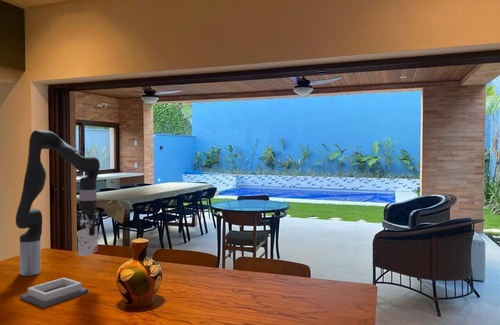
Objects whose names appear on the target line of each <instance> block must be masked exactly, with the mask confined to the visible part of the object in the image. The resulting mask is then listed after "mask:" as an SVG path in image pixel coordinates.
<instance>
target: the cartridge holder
mask: <svg viewBox="0 0 500 325" xmlns="http://www.w3.org/2000/svg"><path fill="white" fill-rule="evenodd" d="M85 294H89V289H88V288H86V287H83V285H82V282H80V281H76V280H73V279H70V278H67V277H62V278H58V279H54V280H51V281H48V282H44V283H41V284H40V283H39V284H37V285H34V286H30V287H27V293H23V294H20V299H21V300H22V301H25V302H26V303H27V302H28V303H30V304H33V305H35V306H37V307H40V308H43V309H44V308H47V307H50V306H55V305H57V304H59V303H62V302H65V301H68V300H71V299H75V298H77V297H80V296H82V295H85Z"/></svg>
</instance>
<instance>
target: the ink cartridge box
mask: <svg viewBox="0 0 500 325" xmlns="http://www.w3.org/2000/svg"><path fill="white" fill-rule="evenodd" d="M91 224H92V223H91ZM95 224H96V222H95ZM98 233H99V232H98V226H96V227H95V235H92V236H90V226H89V223H86V228H85V229H82V230H81V229H80V230H77V255H78V256H80V257H81V256H82V257H88V256H90V255H93V254H95V253H97V252H99V250H98V245H99V244H98V239H99V238H98V236H99V235H98Z"/></svg>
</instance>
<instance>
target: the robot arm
mask: <svg viewBox="0 0 500 325" xmlns="http://www.w3.org/2000/svg"><path fill="white" fill-rule="evenodd" d="M28 141H29V142H28V154H27V155H28V158H27V163H26V169H25V170H26V171H25V174H24V175H25V176H24V180H23V186H22V192H21V196H20V201H19V204H18V207H17V211H16V214H15V215H16V216H15V225H16V227H17V228H19V229H21V230H23V229H24V230H25V229H27V230H26V232H24V233H23V234H21V235H20V236H19V276H22V277H29V276H31V277H32V276H36V275H39V274H40V273H41V272H42V271H41V270H42V268H41V258H42V257H41V236H42V234H43V233H42V231H43V214H42V212H41V210H40V209H38V208H32V205H33V203H34V201H35V200H36V199H37V198H38V197H39V195H40V194H41V193H42V191H43V190H44V187H45V183H46V179H47V172H46V169H45V167H44V165H43V162H42V161H41V159H42V158H41V157H42V156H41V155H42V150H54V151H56V152H58V153H59V155H60V157H61V158H62V160H64V161H66V162H68V163H70V164H71V165H72V166H73V168H75V169H76V170H77V171H79V172H82V173H86V174H85V176H83V177H80V179H79V194H78V204H79V205H78V208H79V210H80V211H77V212H76V218H77V224H78V225H79V226H80V230H82V229H85V228H86V225H87V224H89V226H90V236H92V235H95V227H96V226H97V227H99V221H100V214H99V213H95V210H96V209H97V205H98V204H97V201H98V200H97V179H98V175H99V171H100V166H101V164H100V160H99V159H98V157H96V156H85V155H84V153H83V152H82V151H80V150H78V149H77V148H76V147H73V146H71V145H70V144H68V143H67V142H66V141H64V140H63V139H62V138H61V137H59V135H58V134H56V133H55V132H53V131H51V130H42V129H41V130H39V129H37V130H33V131H32V132H31V134H30V136H29V140H28ZM31 208H32V209H31ZM95 222H96V224H95ZM91 223H92V224H91Z"/></svg>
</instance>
